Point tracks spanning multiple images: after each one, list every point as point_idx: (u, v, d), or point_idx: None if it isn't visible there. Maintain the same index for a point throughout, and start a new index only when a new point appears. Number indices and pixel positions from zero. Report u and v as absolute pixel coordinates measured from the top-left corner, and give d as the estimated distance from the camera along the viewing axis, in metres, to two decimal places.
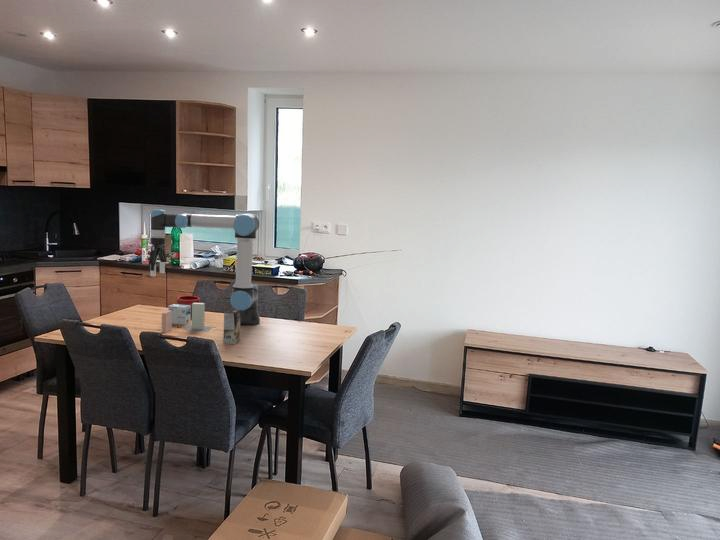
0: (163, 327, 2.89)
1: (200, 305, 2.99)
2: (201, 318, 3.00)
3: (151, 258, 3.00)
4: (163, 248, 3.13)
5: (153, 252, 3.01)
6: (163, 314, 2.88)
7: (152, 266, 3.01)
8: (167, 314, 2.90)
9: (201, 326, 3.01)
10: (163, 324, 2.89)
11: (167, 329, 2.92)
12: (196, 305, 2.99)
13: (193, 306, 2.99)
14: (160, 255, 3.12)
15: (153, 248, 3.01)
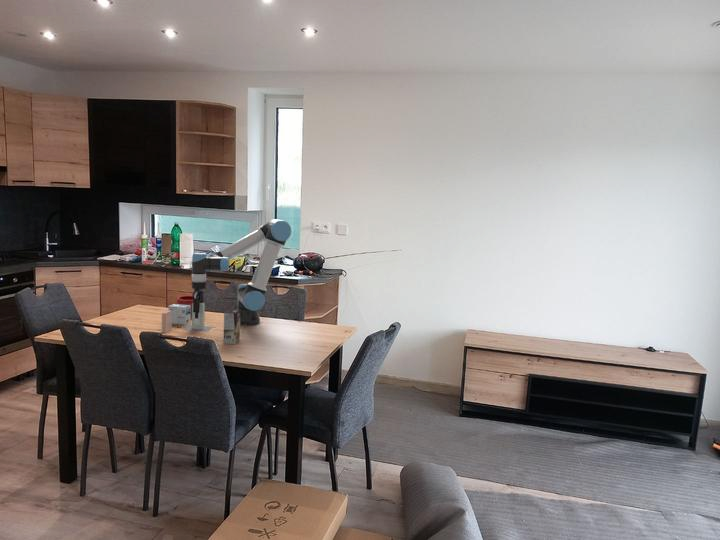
0: (163, 327, 2.89)
1: (200, 305, 2.99)
2: (201, 318, 3.00)
3: (195, 307, 2.95)
4: (203, 293, 3.05)
5: (196, 300, 2.95)
6: (163, 314, 2.88)
7: (196, 314, 2.98)
8: (167, 314, 2.90)
9: (201, 326, 3.01)
10: (163, 324, 2.89)
11: (167, 329, 2.92)
12: None
13: None
14: None
15: (195, 296, 2.94)
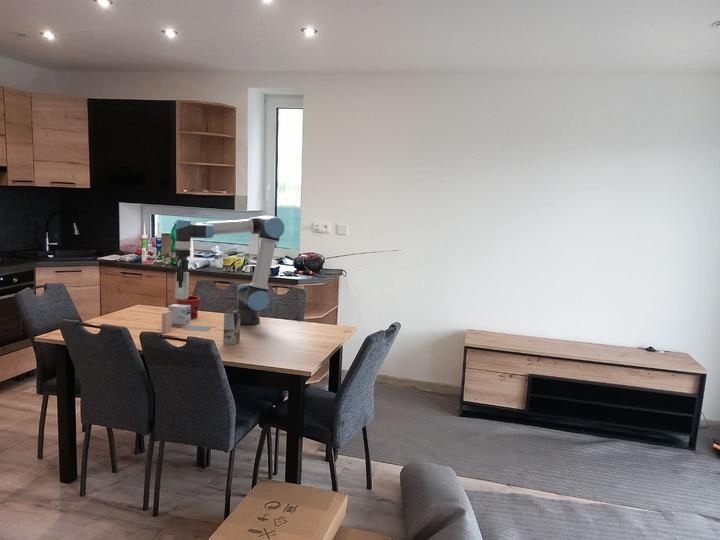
0: (163, 327, 2.89)
1: (184, 274, 2.88)
2: (185, 287, 2.89)
3: (178, 275, 2.84)
4: (187, 262, 2.94)
5: (179, 268, 2.84)
6: (163, 314, 2.88)
7: (180, 283, 2.87)
8: (167, 314, 2.90)
9: (185, 296, 2.89)
10: (163, 324, 2.89)
11: (167, 329, 2.92)
12: None
13: None
14: None
15: (178, 264, 2.83)
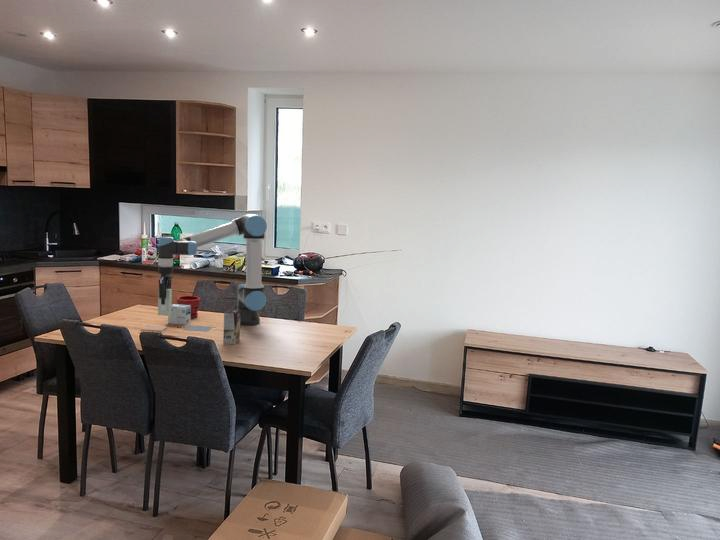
0: None
1: (167, 291, 2.89)
2: (168, 304, 2.90)
3: (161, 292, 2.85)
4: (170, 279, 2.95)
5: (162, 286, 2.85)
6: None
7: (163, 300, 2.88)
8: (144, 328, 2.91)
9: (168, 312, 2.91)
10: None
11: (159, 329, 2.92)
12: None
13: None
14: None
15: (161, 282, 2.84)
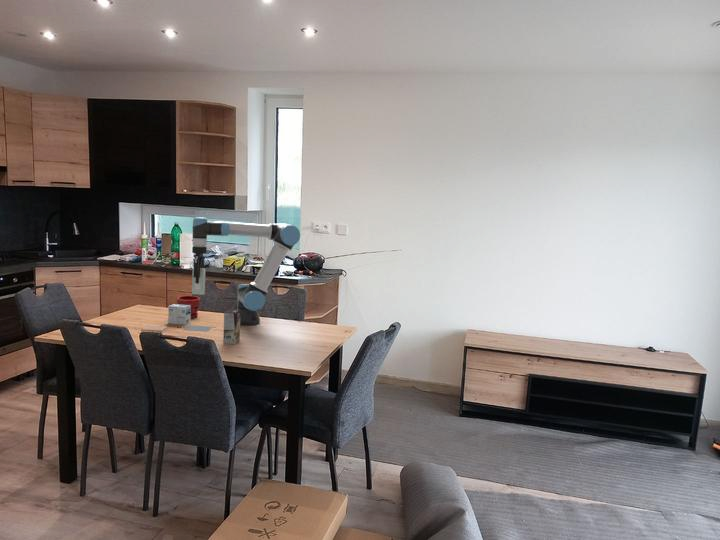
0: None
1: (201, 270, 2.97)
2: (202, 283, 2.98)
3: (195, 271, 2.93)
4: (203, 259, 3.03)
5: (196, 265, 2.92)
6: None
7: (197, 279, 2.96)
8: (144, 328, 2.91)
9: (202, 291, 2.98)
10: None
11: (160, 329, 2.92)
12: None
13: (193, 271, 2.97)
14: (199, 266, 3.00)
15: (195, 261, 2.92)
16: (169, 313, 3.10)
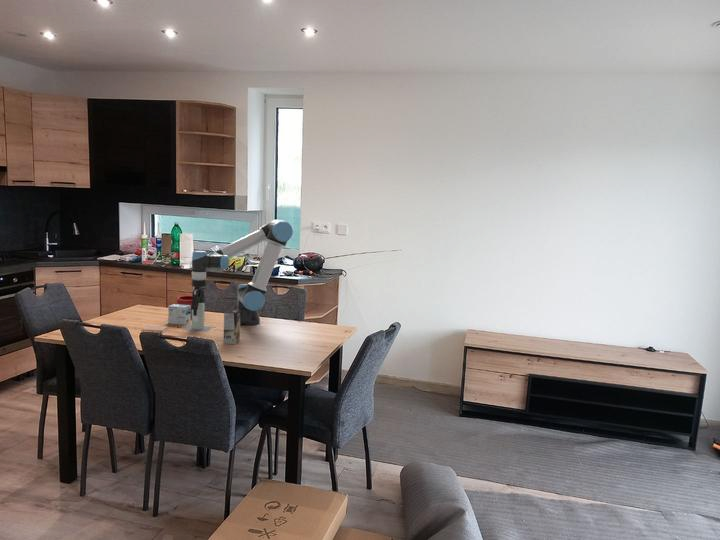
0: None
1: (200, 305, 2.99)
2: (201, 318, 3.00)
3: (194, 303, 2.93)
4: (203, 290, 3.05)
5: (195, 297, 2.93)
6: None
7: (195, 311, 2.95)
8: (144, 328, 2.91)
9: (201, 326, 3.01)
10: None
11: (160, 329, 2.92)
12: None
13: None
14: (200, 298, 3.04)
15: (195, 292, 2.93)
16: (169, 313, 3.10)
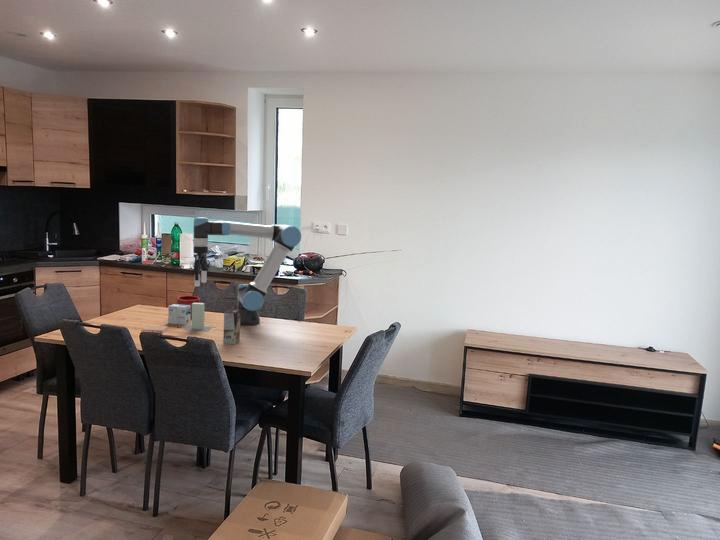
0: None
1: (200, 305, 2.99)
2: (201, 318, 3.00)
3: (195, 268, 2.91)
4: (205, 257, 3.05)
5: (197, 261, 2.92)
6: None
7: (196, 276, 2.92)
8: (145, 328, 2.91)
9: (201, 326, 3.01)
10: None
11: (160, 329, 2.92)
12: (196, 305, 2.99)
13: (193, 306, 2.99)
14: (202, 264, 3.04)
15: (197, 257, 2.92)
16: (169, 313, 3.10)
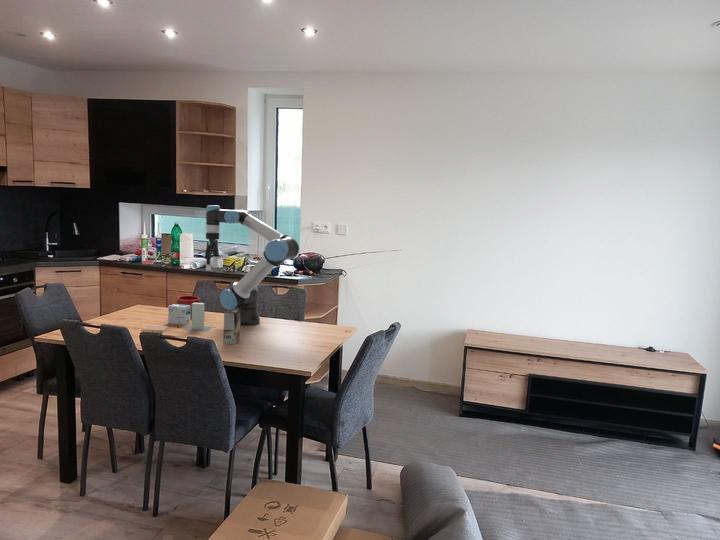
0: None
1: (200, 305, 2.99)
2: (201, 318, 3.00)
3: (207, 252, 3.06)
4: (216, 243, 3.20)
5: (209, 247, 3.08)
6: None
7: (208, 260, 3.08)
8: (145, 328, 2.91)
9: (201, 326, 3.01)
10: None
11: (161, 329, 2.92)
12: (196, 305, 2.99)
13: (193, 306, 2.99)
14: (214, 250, 3.19)
15: (209, 243, 3.08)
16: (169, 313, 3.10)
